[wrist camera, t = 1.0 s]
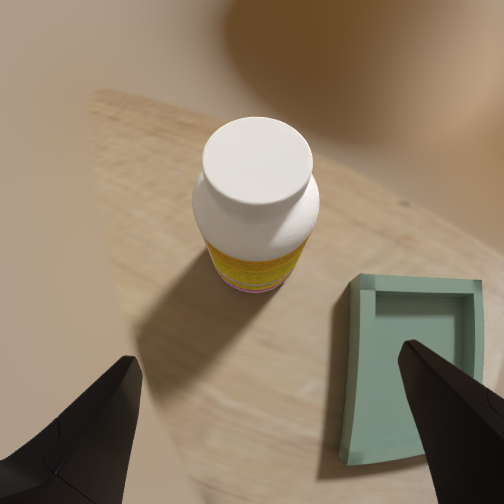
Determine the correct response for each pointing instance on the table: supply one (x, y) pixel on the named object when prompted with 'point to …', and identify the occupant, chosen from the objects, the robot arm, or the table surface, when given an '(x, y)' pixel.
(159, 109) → the table surface
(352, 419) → the tub
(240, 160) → the supplement bottle
